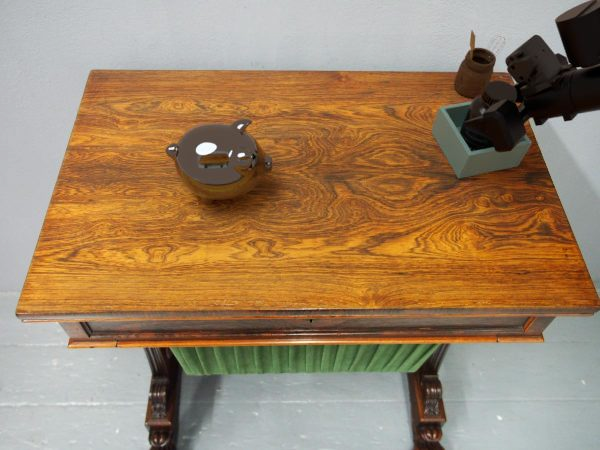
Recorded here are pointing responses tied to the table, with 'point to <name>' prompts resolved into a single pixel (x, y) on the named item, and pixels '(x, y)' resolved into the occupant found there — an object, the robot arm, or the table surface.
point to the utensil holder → (475, 70)
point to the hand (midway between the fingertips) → (481, 111)
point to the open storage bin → (459, 152)
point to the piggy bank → (220, 160)
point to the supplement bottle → (490, 94)
